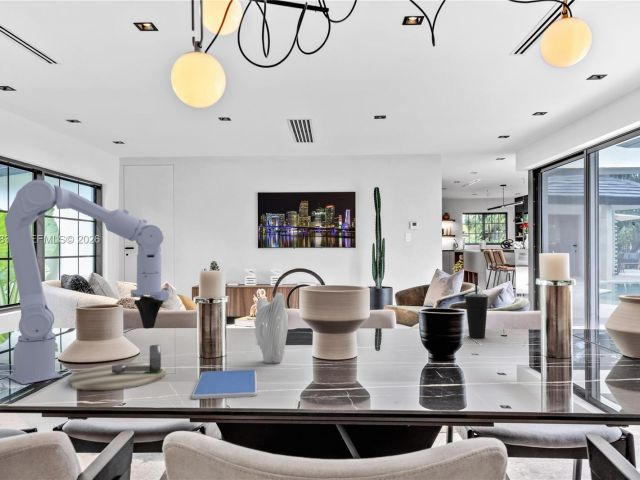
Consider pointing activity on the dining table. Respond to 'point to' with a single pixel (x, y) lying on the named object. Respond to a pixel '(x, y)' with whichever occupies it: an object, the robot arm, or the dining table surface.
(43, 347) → the robot arm
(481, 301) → the drinking cup
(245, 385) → the tablet computer
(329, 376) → the dining table surface
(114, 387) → the dial board
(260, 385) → the dining table surface
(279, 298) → the white ribbed vase
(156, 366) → the lever
